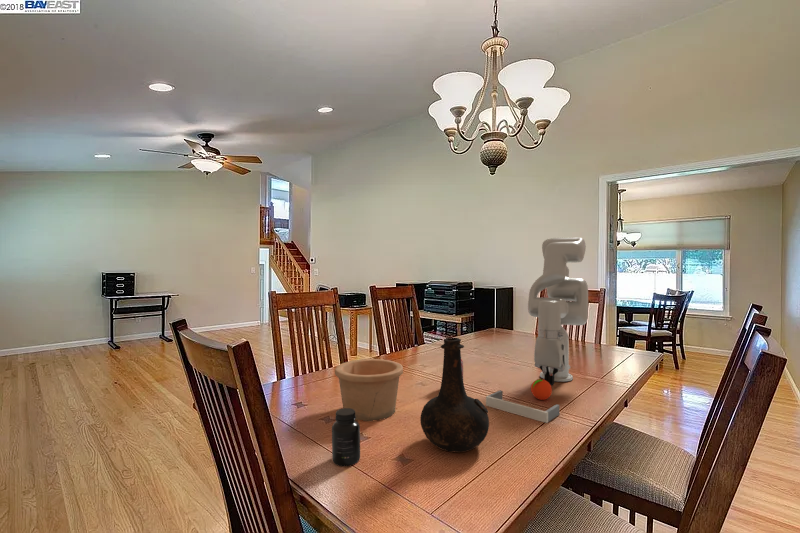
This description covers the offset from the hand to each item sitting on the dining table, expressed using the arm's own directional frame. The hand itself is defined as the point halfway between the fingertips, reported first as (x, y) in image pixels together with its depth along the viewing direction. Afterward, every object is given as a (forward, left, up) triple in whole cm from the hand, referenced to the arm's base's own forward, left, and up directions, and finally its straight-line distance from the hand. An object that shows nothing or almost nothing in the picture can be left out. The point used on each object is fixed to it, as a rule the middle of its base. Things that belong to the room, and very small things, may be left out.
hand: (549, 385), depth 144 cm
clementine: (+7, 0, -4) cm, 8 cm away
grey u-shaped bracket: (+20, 0, -3) cm, 21 cm away
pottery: (+55, -35, -4) cm, 65 cm away
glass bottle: (+55, -1, -4) cm, 55 cm away
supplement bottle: (+80, -15, -4) cm, 81 cm away
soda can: (+18, -29, -4) cm, 34 cm away
